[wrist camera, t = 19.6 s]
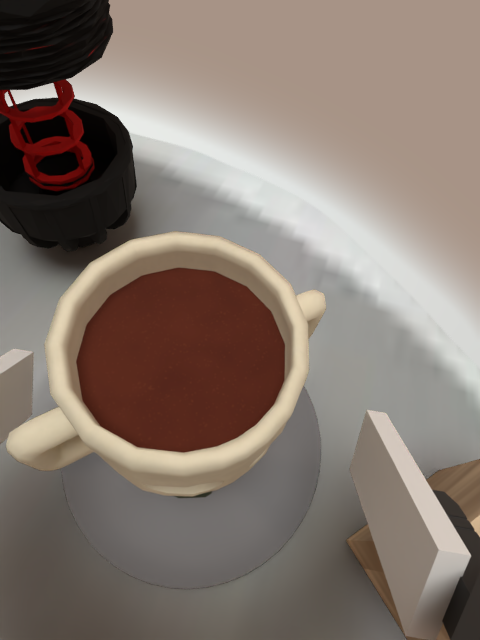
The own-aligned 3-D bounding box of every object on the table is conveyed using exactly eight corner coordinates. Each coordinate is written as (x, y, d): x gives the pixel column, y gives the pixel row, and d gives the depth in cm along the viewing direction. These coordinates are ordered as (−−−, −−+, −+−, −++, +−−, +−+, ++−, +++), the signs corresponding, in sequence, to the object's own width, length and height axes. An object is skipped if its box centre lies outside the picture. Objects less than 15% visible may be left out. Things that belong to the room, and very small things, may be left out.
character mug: (122, 560, 19) (8, 597, 8) (71, 427, 22) (-70, 310, 11) (309, 446, 23) (421, 355, 11) (245, 342, 25) (282, 182, 14)
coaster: (32, 395, 24) (24, 388, 23) (238, 299, 28) (239, 289, 27) (131, 653, 19) (127, 660, 18) (364, 488, 23) (372, 486, 22)
